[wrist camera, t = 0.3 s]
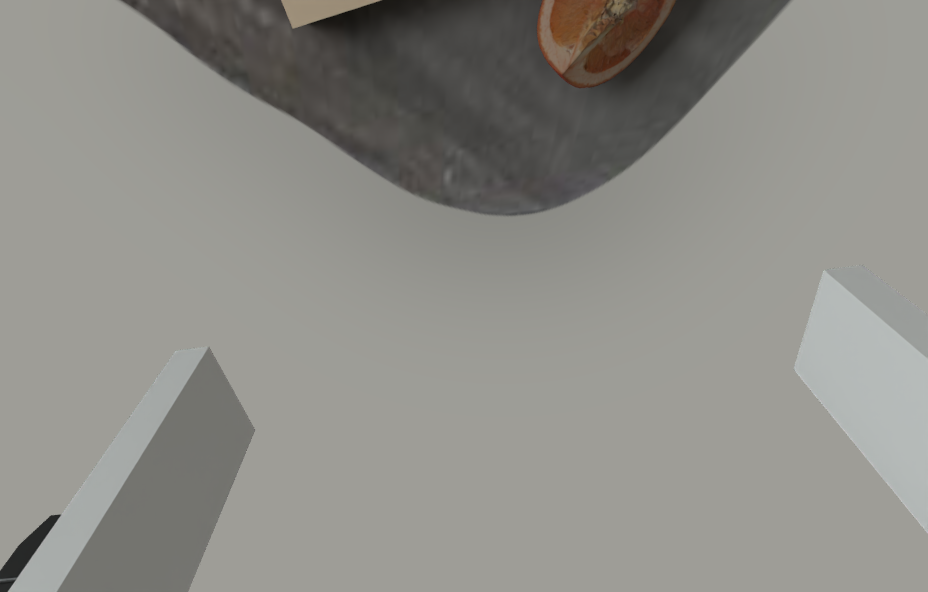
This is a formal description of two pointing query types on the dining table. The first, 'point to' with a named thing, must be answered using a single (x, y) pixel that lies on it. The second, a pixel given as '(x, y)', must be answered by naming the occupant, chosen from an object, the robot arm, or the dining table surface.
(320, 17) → the square frame
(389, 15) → the dining table surface
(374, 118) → the dining table surface
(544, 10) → the fruit slice
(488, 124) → the dining table surface
